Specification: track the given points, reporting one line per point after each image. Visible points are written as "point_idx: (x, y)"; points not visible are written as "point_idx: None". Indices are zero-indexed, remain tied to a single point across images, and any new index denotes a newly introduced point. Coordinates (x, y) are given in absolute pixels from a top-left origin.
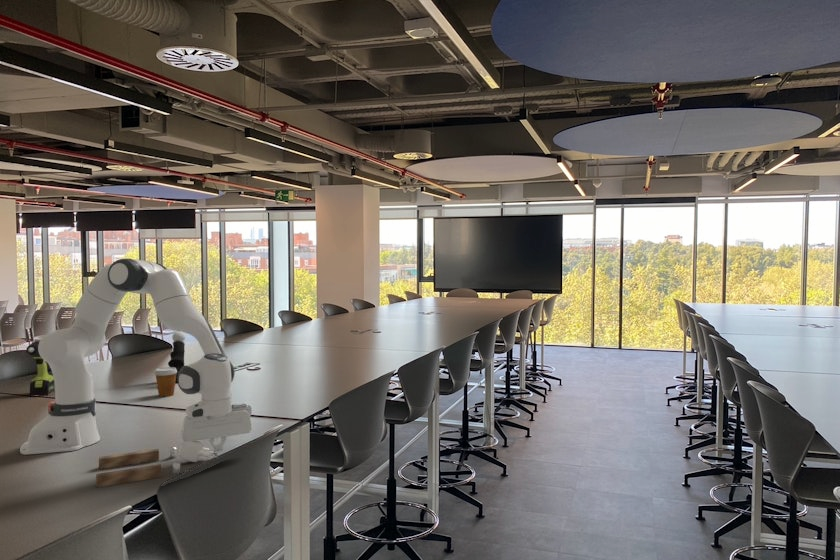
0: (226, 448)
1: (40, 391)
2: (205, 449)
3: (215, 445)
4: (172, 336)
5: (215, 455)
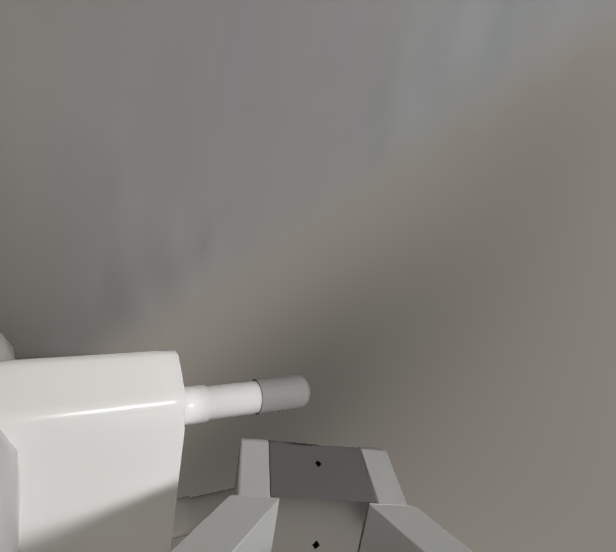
0: (547, 51)
1: None
2: (90, 543)
3: (283, 522)
4: None
5: None
